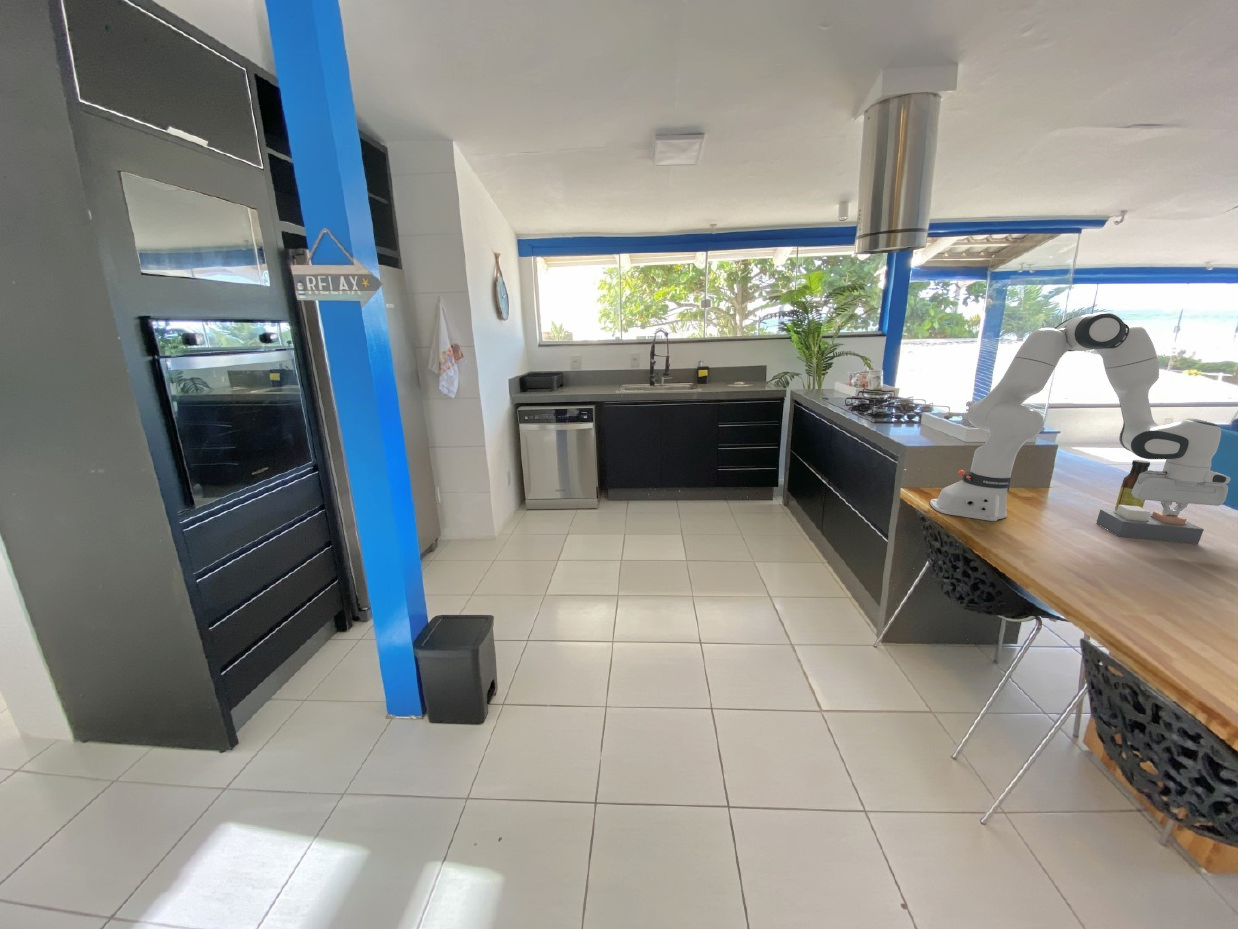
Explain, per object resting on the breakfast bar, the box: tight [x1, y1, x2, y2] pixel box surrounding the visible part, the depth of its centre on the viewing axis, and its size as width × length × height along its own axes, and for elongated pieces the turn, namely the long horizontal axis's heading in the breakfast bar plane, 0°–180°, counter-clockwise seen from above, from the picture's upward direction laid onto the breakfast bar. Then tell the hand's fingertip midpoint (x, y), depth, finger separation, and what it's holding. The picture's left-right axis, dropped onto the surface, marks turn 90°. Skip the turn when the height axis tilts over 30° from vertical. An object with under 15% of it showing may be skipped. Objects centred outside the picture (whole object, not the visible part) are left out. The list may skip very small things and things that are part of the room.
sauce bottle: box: [1114, 459, 1151, 511], centre depth 159 cm, size 6×6×20 cm
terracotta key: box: [1151, 511, 1187, 525], centre depth 145 cm, size 5×5×4 cm
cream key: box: [1116, 505, 1151, 521], centre depth 148 cm, size 5×5×4 cm
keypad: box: [1096, 508, 1205, 545], centre depth 147 cm, size 19×11×5 cm, turn 72°
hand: (1169, 515), depth 145 cm, fingers closed, pressing on terracotta key
